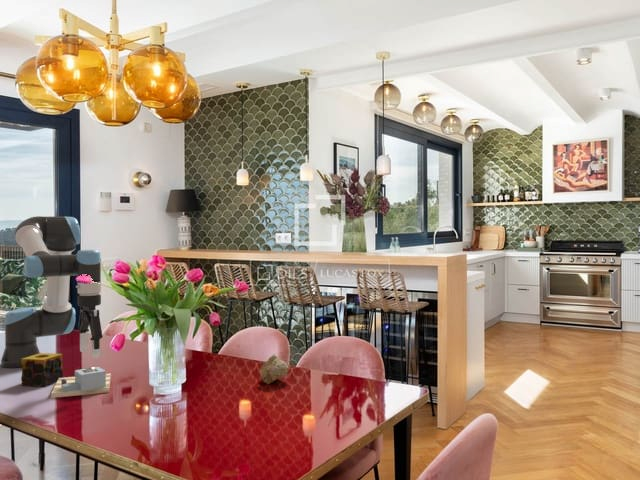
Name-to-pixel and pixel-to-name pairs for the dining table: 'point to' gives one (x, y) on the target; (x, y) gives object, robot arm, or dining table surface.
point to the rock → (273, 369)
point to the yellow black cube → (41, 369)
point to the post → (90, 369)
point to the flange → (86, 380)
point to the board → (59, 393)
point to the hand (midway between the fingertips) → (89, 354)
